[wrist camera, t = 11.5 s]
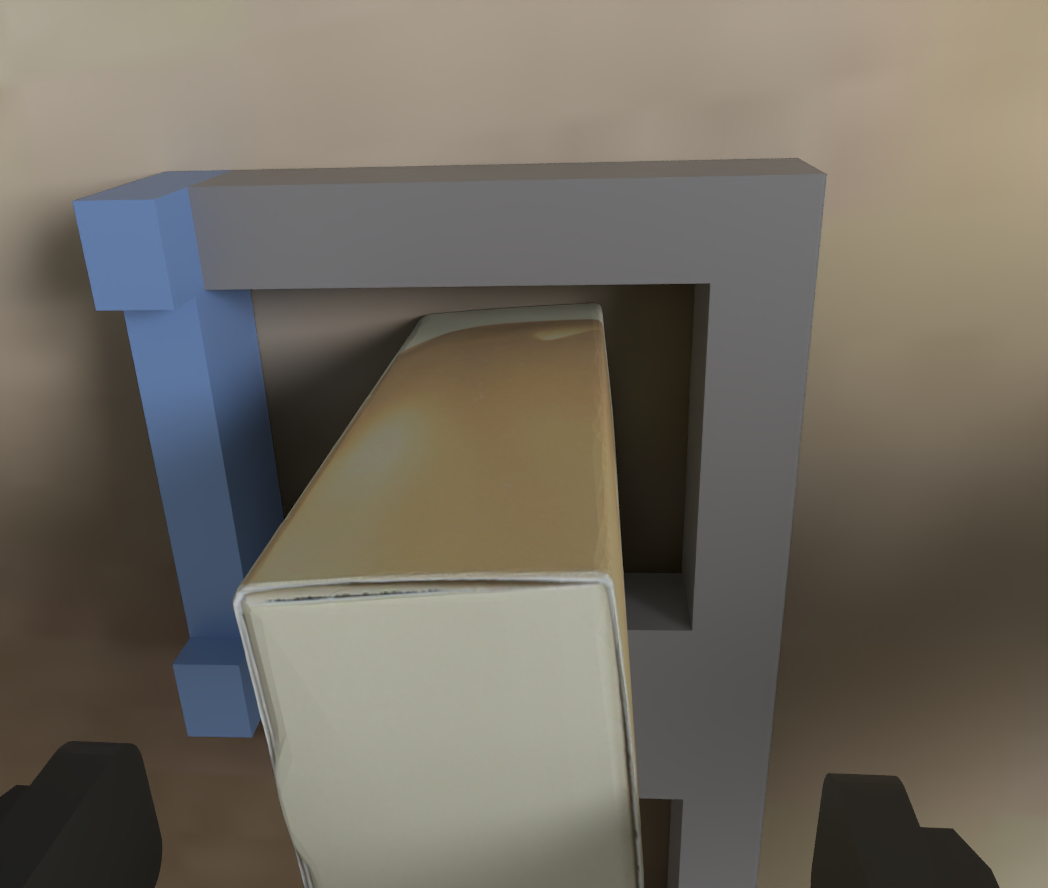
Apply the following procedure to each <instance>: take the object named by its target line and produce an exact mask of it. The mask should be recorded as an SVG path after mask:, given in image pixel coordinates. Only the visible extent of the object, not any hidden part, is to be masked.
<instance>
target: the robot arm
mask: <svg viewBox="0 0 1048 888" xmlns="http://www.w3.org/2000/svg"><path fill="white" fill-rule="evenodd" d="M161 860H162V838H161V833H160V829H159V825H158V821H157V817H156V813H155V808H154V804H153V800H152V796H151V792H150V788H149V784H148V779H147V775H146V771H145V767H144V763H143V759H142V756H141V753H140V751H139V749H138V748H137V747H136V746H135V745H134V744H129V743H104V742H79V741H71V742H68V743H66V744H64V745H63V746H61V747H60V748H59V749H58V750H57V751H56V752H55V754H54V755H53V756H52V758H51V759H50V760H49V761H48V763H47V764H46V765H45V767H44V768H43V769H42V771H41V772H40V773H39V774H38V776H37V777H36V778H35V780H34V781H33V782H32V784H31V785H30V786H24V785H16V786H14V787H13V788H12V789H10V790H9V791H8V792H6V793H5V794H4V795H2V796H1V797H0V888H155V885H156V882H157V879H158V876H159V871H160V866H161ZM811 888H999V885H998V883H997V881H996V879H995V877H994V875H993V872H992V870H991V869H990V868H989V867H988V865H987V864H986V863H985V862H984V861H983V860H982V859H981V858H980V857H979V856H978V855H977V854H976V853H975V852H974V851H973V850H972V849H971V847H970V846H969V845H968V844H967V843H966V842H965V841H964V840H963V839H962V838H961V837H960V836H959V835H958V834H957V833H956V832H955V831H954V829H948V828H925V827H920V825H919V823H918V820H917V818H916V815H915V813H914V810H913V808H912V805H911V803H910V800H909V798H908V795H907V793H906V790H905V788H904V786H903V784H902V782H901V780H900V779H899V778H898V777H896V776H884V775H859V774H834V773H829V774H827V775H826V777H825V780H824V783H823V789H822V797H821V804H820V811H819V819H818V826H817V834H816V841H815V848H814V856H813V863H812V871H811Z"/></svg>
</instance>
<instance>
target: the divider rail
mask: <svg viewBox="0 0 1048 888" xmlns="http://www.w3.org/2000/svg"><path fill="white" fill-rule="evenodd" d="M826 176H827V174H826V173H824V172H822V171H820V170H818V169H817V168H815V167H813V166H811V165H809V164H808V163H806V162H804V161H802V160H800V159H799V158H781V159H734V160H688V161H641V162H594V163H548V164H501V165H455V166H408V167H361V168H315V169H268V170H221V171H175V172H163V173H160V174H156V175H153V176H150V177H147V178H144V179H141V180H137V181H134V182H131V183H128V184H125V185H122V186H118V187H115V188H112V189H109V190H106V191H103V192H99V193H96V194H93V195H90V196H87V197H84V198H80V199H77V200H74V201H72V202H73V206H74V211H75V215H76V220H77V225H78V229H79V234H80V239H81V243H82V248H83V253H84V257H85V262H86V266H87V271H88V276H89V280H90V285H91V290H92V294H93V299H94V303H95V308H96V311H113V310H123V311H124V316H125V321H126V326H127V331H128V336H129V341H130V346H131V351H132V356H133V360H134V365H135V370H136V375H137V380H138V385H139V390H140V395H141V400H142V405H143V410H144V414H145V419H146V424H147V429H148V434H149V439H150V444H151V449H152V454H153V459H154V463H155V468H156V473H157V478H158V483H159V488H160V493H161V498H162V503H163V508H164V512H165V517H166V522H167V527H168V532H169V537H170V542H171V547H172V552H173V557H174V562H175V566H176V571H177V576H178V581H179V586H180V591H181V596H182V601H183V606H184V611H185V615H186V620H187V625H188V630H189V635H190V638H189V640H188V641H187V643H186V645H185V646H184V648H183V649H182V651H181V652H180V654H179V655H178V657H177V658H176V660H175V661H174V663H173V664H172V665H173V669H174V674H175V679H176V683H177V688H178V693H179V697H180V702H181V706H182V711H183V716H184V720H185V725H186V730H187V734H188V736H198V737H249V738H252V737H253V735H254V732H255V730H256V728H257V726H258V724H259V722H260V720H261V716H260V713H259V708H258V704H257V700H256V696H255V692H254V689H253V685H252V681H251V677H250V673H249V669H248V665H247V660H246V656H245V652H244V648H243V644H242V640H241V635H240V632H239V628H238V624H237V620H236V616H235V613H234V609H233V597H234V595H235V593H236V590H237V588H238V587H239V585H240V584H241V583H242V581H243V580H244V578H245V577H246V575H247V574H248V572H249V571H250V569H251V568H252V566H253V565H254V563H255V562H256V560H257V559H258V557H259V556H260V555H261V553H262V552H263V550H264V549H265V547H266V546H267V544H268V543H269V541H270V540H271V538H272V537H273V535H274V534H275V532H276V531H277V529H278V528H279V526H280V525H281V523H282V522H283V521H284V515H283V508H282V502H281V495H280V488H279V481H278V474H277V468H276V461H275V454H274V447H273V440H272V434H271V427H270V420H269V413H268V406H267V400H266V393H265V386H264V379H263V372H262V366H261V359H260V352H259V345H258V338H257V332H256V325H255V318H254V311H253V304H252V298H251V291H250V289H308V288H386V287H464V286H542V285H620V284H695V293H694V315H693V337H692V358H691V380H690V402H689V424H688V446H687V467H686V489H685V511H684V533H683V554H682V573H624V590H625V605H626V619H627V634H628V648H629V662H630V676H631V691H632V706H633V721H634V736H635V751H636V764H637V777H638V791H639V798H643V799H671V815H670V837H669V859H668V881H667V888H757V878H758V867H759V857H760V847H761V837H762V827H763V817H764V806H765V796H766V786H767V776H768V766H769V756H770V745H771V735H772V725H773V715H774V705H775V695H776V684H777V674H778V664H779V654H780V644H781V634H782V623H783V613H784V603H785V593H786V583H787V573H788V562H789V552H790V542H791V532H792V522H793V512H794V501H795V491H796V481H797V471H798V461H799V451H800V440H801V430H802V420H803V410H804V400H805V390H806V379H807V369H808V359H809V349H810V339H811V329H812V318H813V308H814V298H815V288H816V278H817V268H818V257H819V247H820V237H821V227H822V217H823V207H824V196H825V186H826Z"/></svg>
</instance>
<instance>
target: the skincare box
mask: <svg viewBox="0 0 1048 888" xmlns="http://www.w3.org/2000/svg"><path fill="white" fill-rule="evenodd" d="M233 609H234V613H235V616H236V620H237V624H238V628H239V632H240V635H241V640H242V644H243V648H244V652H245V656H246V660H247V665H248V669H249V673H250V677H251V681H252V685H253V689H254V692H255V696H256V700H257V704H258V708H259V713H260V716H261V720H262V724H263V728H264V732H265V735H266V739H267V743H268V748H269V753H270V758H271V763H272V767H273V772H274V776H275V781H276V786H277V791H278V795H279V800H280V804H281V808H282V812H283V816H284V819H285V822H286V825H287V828H288V831H289V834H290V837H291V840H292V843H293V846H294V849H295V852H296V855H297V859H298V863H299V868H300V872H301V876H302V880H303V884H304V888H644V868H643V852H642V836H641V820H640V805H639V791H638V777H637V764H636V751H635V736H634V721H633V706H632V691H631V676H630V662H629V648H628V634H627V619H626V605H625V590H624V573H623V560H622V546H621V531H620V516H619V500H618V481H617V466H616V451H615V436H614V420H613V408H612V399H611V389H610V379H609V370H608V360H607V351H606V342H605V333H604V323H603V313H602V307H601V306H600V305H599V304H596V303H587V304H567V305H545V306H530V307H514V308H501V309H487V310H475V311H463V312H451V313H440V314H431V315H427V316H424V317H423V318H421V319H420V320H419V322H418V323H417V325H416V326H415V328H414V329H413V331H412V332H411V334H410V335H409V336H408V338H407V339H406V341H405V342H404V344H403V345H402V347H401V348H400V350H399V351H398V353H397V354H396V356H395V357H394V358H393V360H392V361H391V363H390V364H389V366H388V367H387V369H386V370H385V372H384V373H383V375H382V376H381V378H380V379H379V381H378V382H377V384H376V385H375V387H374V388H373V390H372V391H371V392H370V394H369V395H368V397H367V398H366V399H365V401H364V402H363V404H362V405H361V407H360V408H359V410H358V411H357V413H356V414H355V416H354V417H353V419H352V420H351V422H350V423H349V425H348V426H347V428H346V429H345V431H344V432H343V434H342V435H341V436H340V438H339V439H338V441H337V442H336V444H335V445H334V447H333V448H332V450H331V451H330V453H329V454H328V456H327V457H326V459H325V460H324V462H323V463H322V465H321V466H320V468H319V469H318V471H317V472H316V474H315V475H314V477H313V478H312V480H311V481H310V482H309V484H308V485H307V487H306V488H305V490H304V491H303V493H302V494H301V496H300V497H299V499H298V500H297V502H296V503H295V505H294V506H293V508H292V509H291V511H290V512H289V514H288V515H287V517H286V518H285V520H284V521H283V522H282V523H281V525H280V526H279V528H278V529H277V531H276V532H275V534H274V535H273V537H272V538H271V540H270V541H269V543H268V544H267V546H266V547H265V549H264V550H263V552H262V553H261V555H260V556H259V557H258V559H257V560H256V562H255V563H254V565H253V566H252V568H251V569H250V571H249V572H248V574H247V575H246V577H245V578H244V580H243V581H242V583H241V584H240V585H239V587H238V588H237V590H236V593H235V595H234V597H233Z"/></svg>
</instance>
